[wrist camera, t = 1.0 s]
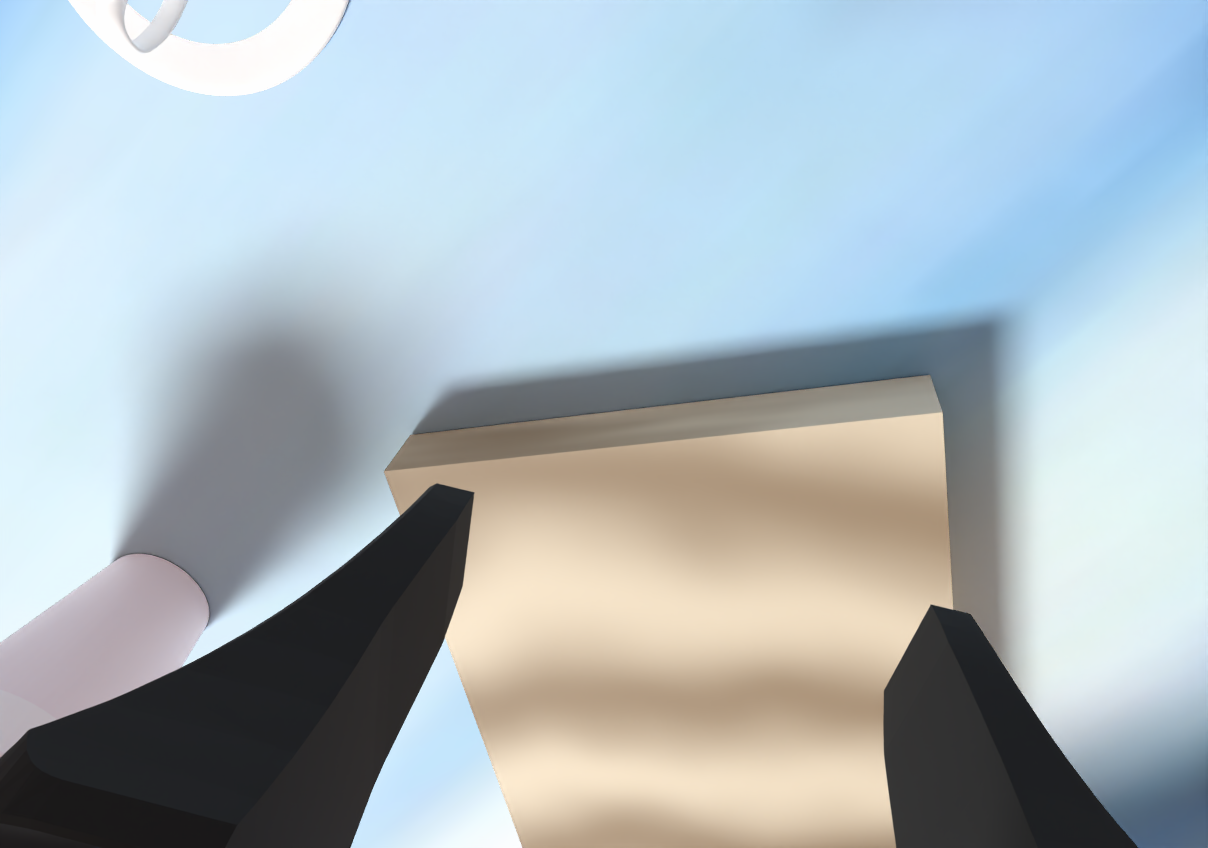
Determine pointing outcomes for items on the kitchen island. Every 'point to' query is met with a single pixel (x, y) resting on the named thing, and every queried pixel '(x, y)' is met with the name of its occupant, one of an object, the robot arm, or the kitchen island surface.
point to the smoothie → (99, 643)
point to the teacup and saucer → (215, 45)
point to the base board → (695, 610)
